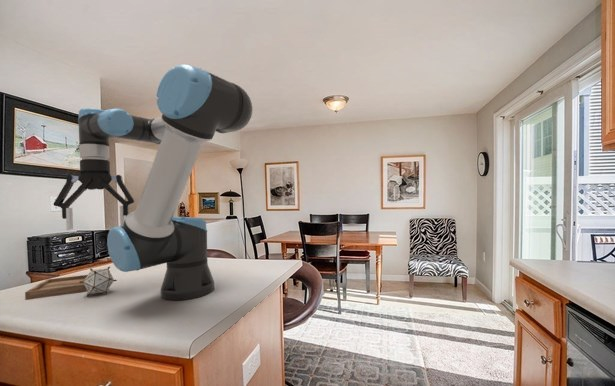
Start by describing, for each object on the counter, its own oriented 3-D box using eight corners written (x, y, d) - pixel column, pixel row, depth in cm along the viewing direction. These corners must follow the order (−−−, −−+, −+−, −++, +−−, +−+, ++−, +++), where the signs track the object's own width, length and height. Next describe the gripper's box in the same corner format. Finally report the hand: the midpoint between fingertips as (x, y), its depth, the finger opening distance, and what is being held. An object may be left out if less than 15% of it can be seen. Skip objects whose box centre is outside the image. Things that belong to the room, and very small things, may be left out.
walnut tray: (86, 291, 92) (86, 284, 92) (25, 299, 86) (25, 292, 86) (99, 279, 106) (98, 273, 106) (47, 285, 100) (46, 279, 100)
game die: (100, 307, 88) (91, 287, 82) (78, 296, 89) (68, 276, 84) (125, 285, 95) (118, 265, 89) (104, 275, 96) (97, 255, 91)
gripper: (142, 161, 98) (144, 223, 98) (49, 160, 88) (51, 229, 88) (139, 158, 91) (141, 225, 91) (37, 157, 81) (39, 232, 81)
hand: (97, 227), depth 89 cm, fingers open, 13 cm apart
